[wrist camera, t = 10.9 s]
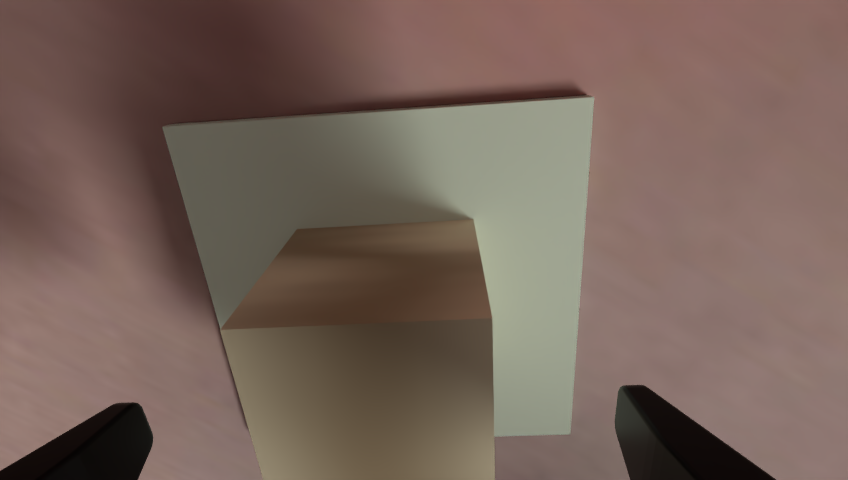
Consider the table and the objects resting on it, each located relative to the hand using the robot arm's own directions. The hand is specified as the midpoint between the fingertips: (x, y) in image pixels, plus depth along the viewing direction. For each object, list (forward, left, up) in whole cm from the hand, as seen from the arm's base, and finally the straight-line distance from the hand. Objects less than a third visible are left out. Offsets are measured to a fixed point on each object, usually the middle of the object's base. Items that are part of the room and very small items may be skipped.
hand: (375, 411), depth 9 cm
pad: (0, 0, -5) cm, 5 cm away
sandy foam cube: (0, 0, -4) cm, 4 cm away
